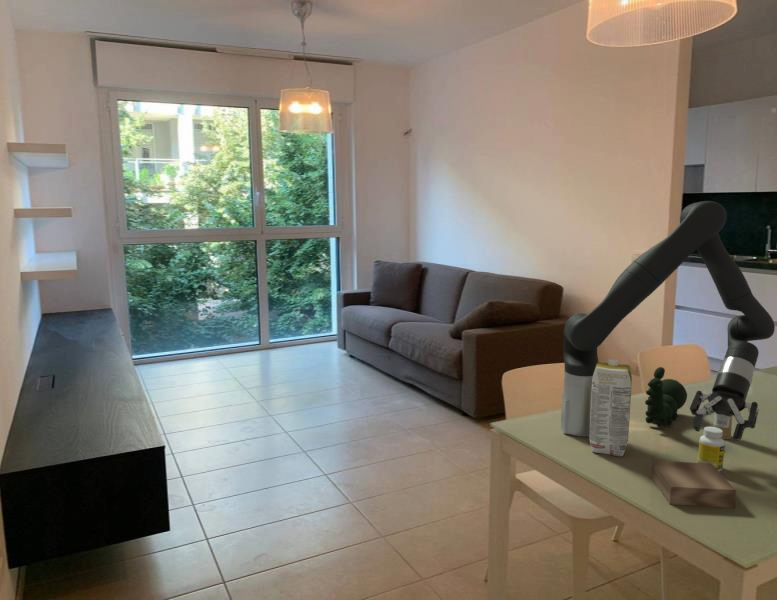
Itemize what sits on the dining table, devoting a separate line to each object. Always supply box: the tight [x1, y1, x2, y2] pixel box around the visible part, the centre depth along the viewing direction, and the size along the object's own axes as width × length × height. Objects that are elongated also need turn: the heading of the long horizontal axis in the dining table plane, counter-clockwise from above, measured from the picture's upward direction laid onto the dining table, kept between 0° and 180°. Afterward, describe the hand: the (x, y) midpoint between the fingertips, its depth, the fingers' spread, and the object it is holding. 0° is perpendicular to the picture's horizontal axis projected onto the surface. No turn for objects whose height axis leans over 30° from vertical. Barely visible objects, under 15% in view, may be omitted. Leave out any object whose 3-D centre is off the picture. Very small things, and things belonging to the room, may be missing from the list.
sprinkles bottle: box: [713, 412, 734, 440], centre depth 162 cm, size 5×5×13 cm
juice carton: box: [589, 358, 633, 457], centre depth 152 cm, size 9×8×24 cm
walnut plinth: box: [650, 460, 737, 509], centre depth 132 cm, size 13×13×4 cm
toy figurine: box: [644, 366, 688, 427], centre depth 174 cm, size 9×19×25 cm
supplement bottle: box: [697, 426, 726, 472], centre depth 143 cm, size 5×5×10 cm
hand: (715, 434), depth 144 cm, fingers open, 8 cm apart
